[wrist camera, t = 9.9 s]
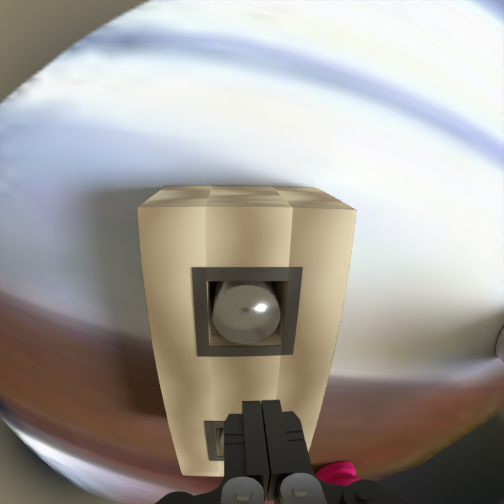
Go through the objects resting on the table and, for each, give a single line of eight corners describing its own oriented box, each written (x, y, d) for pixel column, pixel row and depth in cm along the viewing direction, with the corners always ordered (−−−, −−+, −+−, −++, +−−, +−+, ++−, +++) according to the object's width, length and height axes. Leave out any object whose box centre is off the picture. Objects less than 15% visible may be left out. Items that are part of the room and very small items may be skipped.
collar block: (318, 188, 24) (357, 210, 17) (290, 417, 33) (302, 472, 26) (164, 186, 23) (136, 207, 16) (187, 419, 32) (182, 475, 25)
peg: (266, 243, 25) (282, 286, 18) (264, 288, 27) (277, 343, 19) (216, 243, 25) (211, 286, 18) (216, 288, 26) (213, 344, 19)
